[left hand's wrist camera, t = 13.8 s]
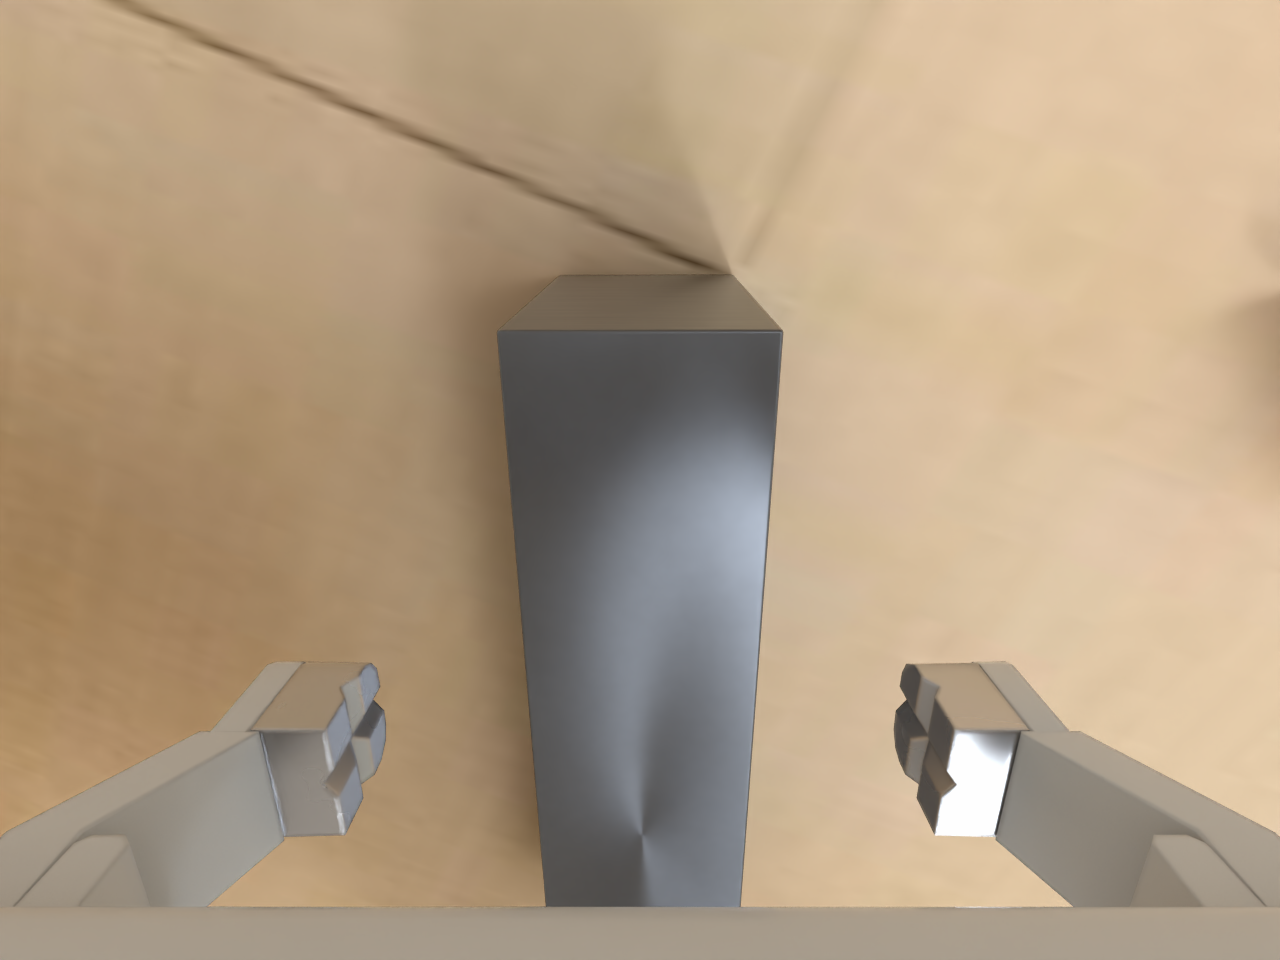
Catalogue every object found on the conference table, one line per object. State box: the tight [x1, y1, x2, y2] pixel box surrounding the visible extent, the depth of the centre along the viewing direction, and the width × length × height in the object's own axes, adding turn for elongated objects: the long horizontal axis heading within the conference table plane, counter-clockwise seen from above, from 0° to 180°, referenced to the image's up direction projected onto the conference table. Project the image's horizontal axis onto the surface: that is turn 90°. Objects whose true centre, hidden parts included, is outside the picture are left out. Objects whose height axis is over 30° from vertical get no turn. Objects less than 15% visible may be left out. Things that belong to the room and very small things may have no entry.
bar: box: [497, 275, 783, 907], centre depth 22 cm, size 26×5×9 cm, turn 0°
